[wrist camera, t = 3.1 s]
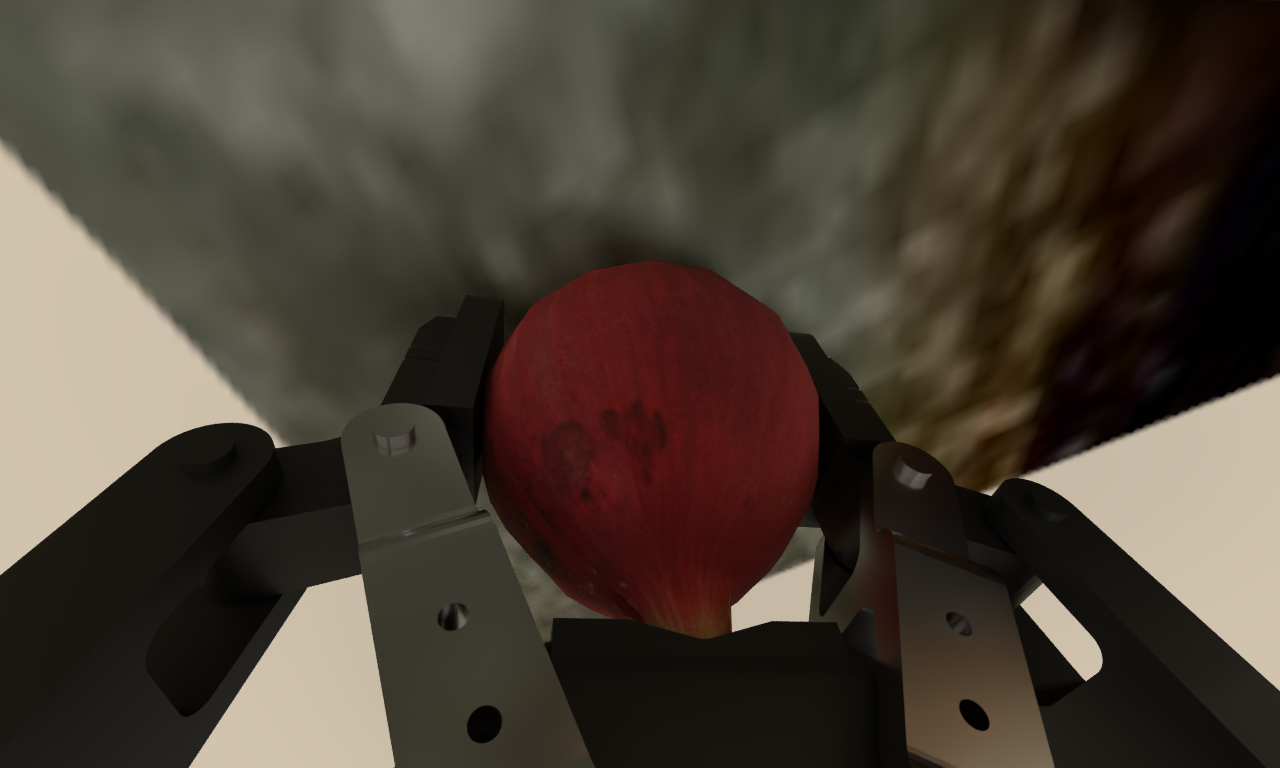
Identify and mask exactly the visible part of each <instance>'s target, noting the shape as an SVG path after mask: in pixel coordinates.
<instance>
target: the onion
mask: <svg viewBox="0 0 1280 768" xmlns="http://www.w3.org/2000/svg"><path fill="white" fill-rule="evenodd" d="M818 455H819V398H818V393H817V390H816V388H815V385H814V383H813V380H812V378H811V375H810V373H809V370H808V367H807V366H806V364H805V362H804V360H803V358H802V357H801V355H800V353H799V351H798V349H797V348H796V346H795V344H794V342H793V340H792V339H791V337H790V335H789V333H788V331H787V330H786V328H785V326H784V324H783V322H782V321H781V319H780V317H779V316H778V315H777V314H776V313H774V312H773V311H772V310H770V309H769V308H768V307H766V306H765V305H764V304H762V303H761V302H759V301H758V300H756V299H755V298H753V297H752V296H750V295H749V294H747V293H746V292H744V291H742V290H741V289H739V288H738V287H736V286H735V285H733V284H732V283H730V282H729V281H727V280H725V279H724V278H722V277H721V276H719V275H718V274H716V273H715V272H713V271H711V270H708V269H702V268H696V267H691V266H685V265H679V264H674V263H668V262H662V261H657V260H648V261H642V262H636V263H630V264H624V265H619V266H613V267H607V268H601V269H596V270H590V271H588V272H586V273H585V274H583V275H581V276H579V277H578V278H576V279H574V280H573V281H571V282H569V283H567V284H566V285H564V286H562V287H561V288H559V289H557V290H555V291H554V292H552V293H550V294H549V295H547V296H545V297H543V298H542V299H540V300H538V301H537V302H535V303H534V304H533V305H532V306H531V308H530V309H529V311H528V312H527V313H526V315H525V316H524V318H523V319H522V320H521V322H520V323H519V324H518V326H517V327H516V329H515V330H514V331H513V333H512V334H511V335H510V337H509V338H508V340H507V341H506V342H505V344H504V345H503V347H502V348H501V349H500V351H499V353H498V355H497V357H496V359H495V360H494V362H493V364H492V366H491V368H490V370H489V372H488V374H487V376H486V378H485V391H484V425H483V448H482V473H483V477H484V481H485V485H486V488H487V492H488V496H489V499H490V502H491V504H492V506H493V507H494V509H495V511H496V513H497V514H498V516H499V518H500V520H501V521H502V523H503V525H504V526H505V528H506V530H507V531H508V532H509V533H510V534H511V535H512V536H513V537H514V539H515V540H516V541H517V542H518V543H519V544H520V545H521V547H522V548H523V549H524V550H525V551H526V552H527V553H528V554H529V555H530V557H531V558H532V559H533V560H534V561H535V562H536V563H537V564H538V565H539V566H540V567H541V568H542V569H543V570H544V571H545V572H546V573H547V574H548V575H549V577H550V578H551V579H552V580H553V581H554V582H555V583H556V584H557V585H558V586H559V588H560V589H561V590H562V591H563V592H564V593H565V594H566V595H567V596H568V597H570V598H572V599H573V600H575V601H577V602H578V603H580V604H582V605H584V606H585V607H587V608H589V609H591V610H593V611H596V612H598V613H600V614H603V615H605V616H608V617H610V618H612V619H629V620H633V621H637V622H640V623H644V624H648V625H651V626H655V627H659V628H663V629H666V630H670V631H674V632H677V633H681V634H685V635H689V636H692V637H696V638H701V639H709V638H714V637H718V636H721V635H725V634H728V633H732V624H731V623H732V622H731V606H732V605H734V604H735V603H737V602H738V601H739V600H740V599H741V598H742V597H743V596H744V595H745V594H746V593H747V592H748V591H749V590H750V589H751V588H752V587H753V586H755V585H756V584H757V583H758V582H759V581H760V580H761V579H762V578H763V577H764V576H765V575H766V574H767V573H768V572H770V570H771V569H772V568H773V566H774V565H775V564H776V563H777V561H778V560H779V559H780V557H781V556H782V554H783V553H784V551H785V549H786V547H787V545H788V544H789V542H790V540H791V538H792V537H793V535H794V533H795V531H796V530H797V528H798V526H799V524H800V522H801V520H802V519H803V517H804V515H805V513H806V511H807V509H808V507H809V505H810V503H811V501H812V498H813V494H814V490H815V486H816V483H817V479H818Z"/></svg>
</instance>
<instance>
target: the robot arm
mask: <svg viewBox="0 0 1280 768" xmlns="http://www.w3.org/2000/svg"><path fill="white" fill-rule="evenodd" d="M788 333H789V335H790V337H791V339H792V340H793V342H794V344H795V346H796V348H797V349H798V351H799V353H800V355H801V357H802V358H803V360H804V362H805V364H806V366H807V367H808V370H809V373H810V375H811V378H812V380H813V383H814V385H815V388H816V390H817V393H818V398H819V455H818V479H817V483H816V486H815V490H814V494H813V498H812V501H811V503H810V505H809V507H808V509H807V511H806V513H805V515H804V517H803V519H802V520H801V522H800V524H799V526H798V527H815V528H821V530H822V532H823V534H824V535H823V536H822V538H821V540H820V541H819V543H818V545H817V547H816V552H815V562H814V573H813V583H812V593H811V603H810V614H809V622H789V621H788V622H787V621H771V622H768V623H764V624H761V625H757V626H753V627H750V628H746V629H743V630H739V631H735V632H732V633H728V634H725V635H721V636H718V637H714V638H709V639H701V638H696V637H692V636H689V635H685V634H681V633H677V632H674V631H670V630H666V629H663V628H659V627H655V626H651V625H648V624H644V623H640V622H637V621H633V620H629V619H582V618H553V624H552V631H551V638H550V641H549V642H545V643H543V640H542V638H541V635H540V633H539V631H538V628H537V626H536V623H535V621H534V618H533V616H532V613H531V611H530V608H529V606H528V604H527V601H526V599H525V596H524V594H523V591H522V589H521V586H520V584H519V582H518V579H517V577H516V574H515V572H514V569H513V567H512V564H511V562H510V559H509V557H508V555H507V552H506V550H505V547H504V545H503V542H502V540H501V537H500V535H499V532H498V530H497V528H496V525H495V523H494V521H493V519H492V517H491V515H490V514H489V512H488V511H487V510H482V511H478V510H477V508H476V501H477V496H478V492H479V487H480V482H481V478H482V448H483V425H484V391H485V378H486V376H487V374H488V372H489V370H490V368H491V366H492V364H493V362H494V360H495V359H496V357H497V355H498V353H499V351H500V349H501V348H502V347H503V345H504V299H498V298H489V297H480V296H472V295H466V296H465V298H464V301H463V303H462V306H461V308H460V311H459V313H458V316H457V318H450V317H440V316H436V317H435V318H433V319H432V320H430V321H429V322H428V323H426V324H425V325H423V326H422V327H420V328H419V329H418V331H417V333H416V335H415V337H414V339H413V342H412V344H411V347H410V348H409V350H408V352H407V354H406V356H405V360H404V361H403V362H402V364H401V366H400V368H399V370H398V372H397V374H396V376H395V378H394V380H393V382H392V384H391V386H390V388H389V390H388V392H387V394H386V396H385V398H384V400H383V402H382V404H381V406H377V407H374V408H371V409H369V410H367V411H365V412H362V413H361V414H359V415H358V416H356V417H355V418H353V419H352V420H351V421H350V422H349V423H348V424H347V425H346V427H345V428H344V430H343V432H342V435H341V437H339V438H335V439H331V440H327V441H322V442H316V443H309V444H303V445H296V446H289V447H282V448H275V446H274V443H273V440H272V438H271V437H270V435H269V434H268V433H267V432H265V431H264V430H262V429H261V428H258V427H256V426H253V425H248V424H242V423H221V424H213V425H207V426H203V427H199V428H195V429H192V430H189V431H187V432H183V433H181V434H179V435H177V436H175V437H172V438H171V439H169V440H167V441H166V442H164V443H162V444H161V445H159V446H158V447H157V448H155V449H154V450H153V451H152V452H151V453H149V454H148V455H147V456H146V457H144V458H143V459H142V460H141V461H139V462H138V463H137V464H136V465H135V466H133V467H132V468H131V469H130V470H128V471H127V472H126V473H125V474H124V475H122V476H121V477H120V478H119V479H117V480H116V481H115V482H114V483H113V484H111V485H110V486H109V487H108V488H106V489H105V490H104V491H103V492H102V493H100V494H99V495H98V496H97V497H95V498H94V499H93V500H92V501H91V502H89V503H88V504H87V505H86V506H84V507H83V508H82V509H81V510H80V511H78V512H77V513H76V514H75V515H74V516H72V517H71V518H70V519H69V520H67V521H66V522H65V523H64V524H63V525H61V526H60V527H59V528H58V529H56V530H55V531H54V532H53V533H51V534H50V535H49V536H48V537H47V538H45V539H44V540H43V541H42V542H40V543H39V544H38V545H37V546H36V547H34V548H33V549H32V550H31V551H29V552H28V553H27V554H26V555H25V556H23V557H22V558H21V559H20V560H18V561H17V562H16V563H15V564H14V565H12V566H11V567H10V568H9V569H7V570H6V571H5V572H4V573H3V574H1V575H0V768H189V766H190V765H191V763H192V762H193V760H194V759H195V757H196V756H197V754H198V753H199V751H200V750H201V748H202V747H203V745H204V744H205V742H206V740H207V739H208V738H209V736H210V734H211V733H212V731H213V730H214V728H215V727H216V725H217V724H218V722H219V721H220V719H221V718H222V716H223V715H224V713H225V712H226V710H227V709H228V707H229V706H230V704H231V703H232V701H233V700H234V698H235V697H236V695H237V694H238V692H239V690H240V689H241V687H242V686H243V684H244V683H245V681H246V680H247V678H248V677H249V675H250V674H251V672H252V671H253V669H254V668H255V666H256V665H257V663H258V662H259V660H260V659H261V657H262V656H263V654H264V652H265V651H266V650H267V648H268V647H269V645H270V644H271V642H272V640H273V639H274V637H275V636H276V634H277V633H278V631H279V630H280V628H281V627H282V625H283V624H284V622H285V621H286V619H287V618H288V616H289V614H290V613H291V612H292V610H293V609H294V607H295V606H296V604H297V602H298V601H299V600H300V598H301V597H302V595H303V593H304V592H305V590H306V589H307V587H310V586H315V585H319V584H323V583H327V582H331V581H335V580H339V579H343V578H347V577H351V576H355V575H359V574H362V577H363V582H364V588H365V594H366V599H367V605H368V611H369V617H370V623H371V629H372V635H373V640H374V645H375V652H376V657H377V663H378V669H379V675H380V681H381V687H382V692H383V698H384V704H385V709H386V716H387V721H388V727H389V733H390V739H391V745H392V750H393V756H394V762H395V767H394V768H1280V691H1279V690H1278V689H1277V688H1276V687H1275V686H1274V685H1272V684H1271V683H1270V682H1269V681H1268V680H1267V679H1266V678H1264V677H1263V676H1262V675H1261V674H1260V673H1259V672H1258V671H1257V670H1256V669H1255V668H1254V667H1252V666H1251V665H1250V664H1249V663H1248V662H1247V661H1246V660H1245V659H1244V658H1242V657H1241V656H1240V655H1239V654H1238V653H1237V652H1236V651H1235V650H1233V649H1232V648H1231V647H1230V646H1229V645H1228V644H1227V643H1226V642H1225V641H1224V640H1223V639H1221V638H1220V637H1219V636H1218V635H1217V634H1216V633H1215V632H1214V631H1212V630H1211V629H1210V628H1209V627H1208V626H1207V625H1206V624H1205V623H1204V622H1202V621H1201V620H1200V619H1199V618H1198V617H1197V616H1196V615H1195V614H1194V613H1193V612H1191V611H1190V610H1189V609H1188V608H1187V607H1186V606H1185V605H1184V604H1183V603H1181V602H1180V601H1179V600H1178V599H1177V598H1176V597H1175V596H1174V595H1172V594H1171V593H1170V592H1169V591H1168V590H1167V589H1166V588H1165V587H1164V586H1163V585H1162V584H1160V583H1159V582H1158V581H1157V580H1156V579H1155V578H1154V577H1153V576H1151V575H1150V574H1149V573H1148V572H1147V571H1146V570H1145V569H1144V568H1142V566H1140V565H1139V564H1138V563H1137V562H1136V561H1135V560H1134V559H1133V558H1132V557H1130V556H1129V555H1128V554H1127V553H1126V552H1125V551H1124V550H1122V548H1120V547H1119V546H1118V545H1117V544H1116V543H1115V542H1114V541H1113V540H1112V539H1110V538H1109V537H1108V536H1107V535H1106V534H1105V533H1104V532H1103V531H1102V530H1100V529H1099V528H1098V527H1097V526H1096V525H1095V524H1094V523H1093V522H1092V521H1090V520H1089V519H1088V518H1087V517H1086V516H1085V515H1084V514H1083V513H1082V512H1081V511H1079V510H1078V509H1077V508H1076V507H1075V506H1074V505H1073V504H1071V503H1070V502H1069V501H1068V500H1066V499H1065V498H1064V497H1062V496H1061V495H1059V494H1058V493H1056V492H1054V491H1053V490H1051V489H1049V488H1047V487H1045V486H1043V485H1041V484H1038V483H1035V482H1033V481H1029V480H1025V479H1019V478H1011V479H1007V480H1005V481H1004V482H1003V483H1002V484H1001V485H1000V486H999V488H998V489H997V490H996V491H995V492H994V494H993V495H992V496H989V495H986V494H983V493H980V492H976V491H973V490H970V489H966V488H963V487H960V486H956V485H955V484H954V481H953V478H952V476H951V475H950V473H949V472H948V470H947V469H946V468H945V467H944V466H943V465H942V464H941V463H940V462H939V461H938V460H936V459H935V458H934V457H932V456H931V455H929V454H928V453H926V452H924V451H923V450H921V449H919V448H916V447H914V446H911V445H908V444H905V443H901V442H896V440H895V439H894V438H893V436H892V435H891V433H890V432H889V430H888V429H887V427H886V426H885V425H884V423H883V422H882V420H881V419H880V417H879V416H878V414H877V413H876V412H875V410H874V409H873V407H872V406H871V404H868V400H867V399H866V397H865V396H864V394H863V393H862V391H859V387H858V385H857V384H856V383H855V381H854V380H853V378H852V377H851V375H850V374H849V373H848V372H847V371H846V370H845V369H843V368H842V367H841V366H840V365H838V364H837V363H836V362H835V361H834V360H832V359H831V358H828V357H827V356H826V354H825V353H824V351H823V350H822V348H821V347H820V345H819V344H818V342H817V341H816V339H815V338H814V337H813V336H812V335H810V334H803V333H794V332H788ZM1042 583H1044V584H1045V586H1046V587H1047V588H1049V590H1050V591H1051V592H1052V593H1053V594H1054V595H1055V596H1056V598H1057V599H1058V600H1059V601H1060V602H1061V603H1062V604H1063V605H1064V606H1065V607H1066V608H1067V609H1068V611H1069V612H1070V613H1071V614H1072V615H1073V616H1074V617H1075V618H1076V619H1077V620H1078V621H1079V623H1081V625H1082V626H1083V627H1084V628H1085V629H1086V630H1087V631H1088V632H1089V633H1090V635H1091V636H1092V637H1093V638H1094V639H1095V641H1096V642H1097V644H1098V646H1099V648H1100V650H1101V653H1102V658H1103V664H1102V668H1101V670H1100V671H1099V672H1098V673H1097V674H1096V675H1094V676H1093V677H1091V678H1090V679H1089V680H1087V681H1085V680H1084V679H1083V678H1082V677H1081V676H1080V675H1079V674H1078V673H1077V671H1076V670H1075V669H1074V668H1073V667H1072V665H1071V664H1070V663H1069V662H1068V661H1067V660H1066V658H1065V657H1064V656H1063V655H1062V654H1061V653H1060V651H1059V650H1058V649H1057V648H1056V647H1055V646H1054V644H1053V643H1052V642H1051V641H1050V640H1049V639H1048V637H1047V636H1046V635H1045V634H1044V632H1043V631H1042V630H1041V629H1040V628H1039V627H1038V625H1037V624H1036V623H1035V622H1034V621H1033V620H1032V619H1031V617H1030V616H1029V615H1028V614H1027V613H1026V611H1024V609H1023V608H1022V607H1021V606H1020V604H1021V603H1022V602H1023V601H1024V600H1025V599H1026V598H1027V597H1028V596H1030V595H1031V594H1032V593H1033V592H1034V591H1035V590H1036V589H1037V588H1038V587H1039V586H1040V585H1041V584H1042Z"/></svg>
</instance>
